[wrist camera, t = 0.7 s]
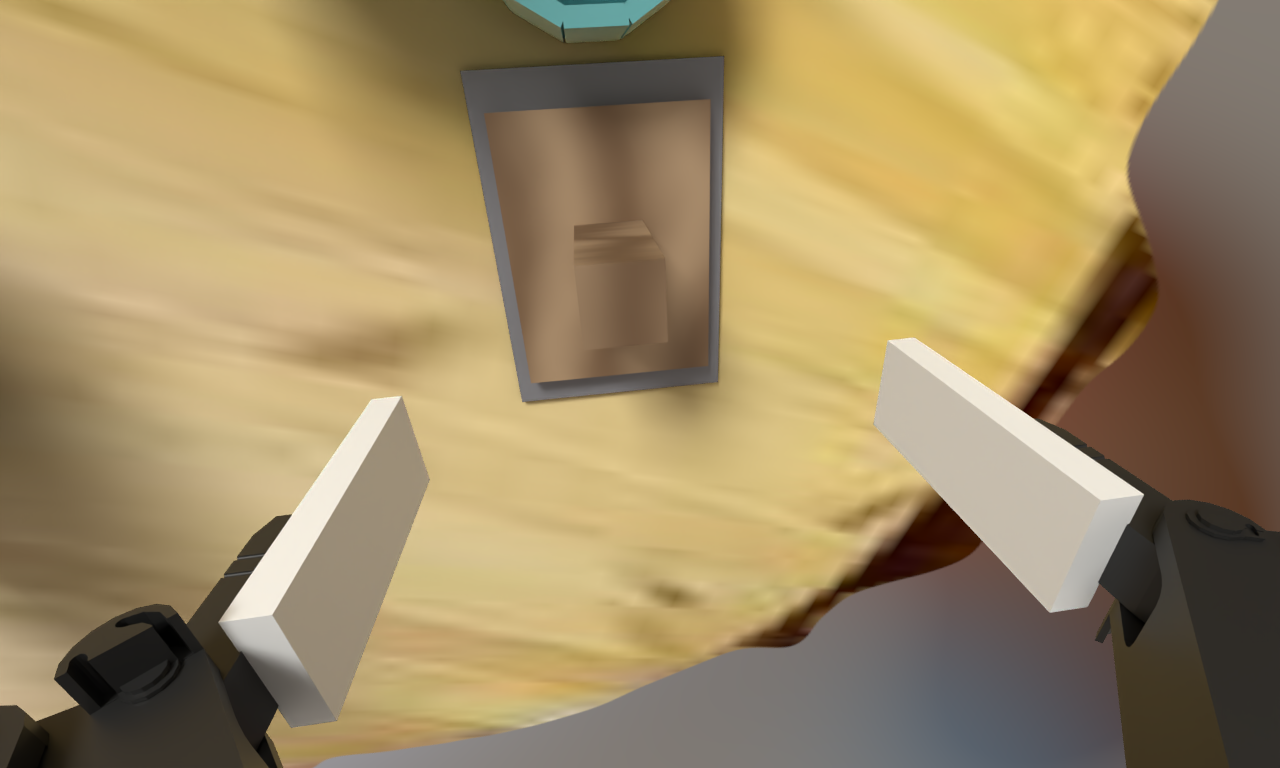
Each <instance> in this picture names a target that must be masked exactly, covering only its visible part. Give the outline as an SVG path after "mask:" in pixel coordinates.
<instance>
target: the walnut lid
mask: <svg viewBox="0 0 1280 768" xmlns="http://www.w3.org/2000/svg"><path fill="white" fill-rule="evenodd" d="M710 109H711V99H704V100H688V101H672V102H656V103H640V104H623V105H607V106H591V107H575V108H559V109H543V110H527V111H511V112H494V113H484V117H485V123H486V128H487V134H488V140H489V146H490V151H491V157H492V163H493V169H494V174H495V180H496V186H497V191H498V197H499V203H500V209H501V214H502V220H503V226H504V231H505V237H506V243H507V249H508V254H509V260H510V266H511V272H512V277H513V283H514V289H515V294H516V300H517V306H518V312H519V317H520V323H521V329H522V335H523V340H524V346H525V352H526V357H527V363H528V369H529V375H530V380H531V383H540V382H550V381H560V380H571V379H581V378H591V377H601V376H611V375H621V374H631V373H641V372H651V371H662V370H672V369H682V368H692V367H702V366H708V330H709V220H710Z"/></svg>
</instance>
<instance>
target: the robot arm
mask: <svg viewBox="0 0 1280 768" xmlns="http://www.w3.org/2000/svg"><path fill="white" fill-rule="evenodd" d="M873 425H874V426H875V427H876V428H877V429H878V430H879V431H880V432H881V433H882V434H883V435H884V436H885V437H886V438H887V439H888V441H889V442H890V443H891V444H892V445H893V446H894V447H895V448H896V449H897V450H898V451H899V452H900V453H901V454H902V455H903V457H904V458H905V459H906V460H907V461H908V462H909V463H910V464H911V465H912V466H913V467H914V468H915V469H916V470H917V471H918V473H919V474H920V475H921V476H922V477H923V478H924V479H925V480H926V481H927V482H928V483H929V484H930V485H931V486H932V487H933V489H934V490H935V491H936V492H937V493H938V494H939V495H940V496H941V497H942V498H943V499H944V500H945V501H946V502H947V503H948V505H949V506H950V507H951V508H952V509H953V510H954V511H955V512H956V513H957V514H958V515H959V516H960V517H961V518H962V519H963V521H964V522H965V523H966V524H967V525H968V526H969V527H970V528H971V529H972V530H973V531H974V532H975V533H976V534H977V535H978V537H979V538H980V539H981V540H982V541H983V542H984V543H985V544H986V545H987V546H988V547H989V548H990V549H991V550H992V551H993V552H994V554H995V555H996V556H997V557H998V558H999V559H1000V560H1001V561H1002V562H1003V563H1004V564H1005V565H1006V566H1007V567H1008V569H1009V570H1010V571H1011V572H1012V573H1013V574H1014V575H1015V576H1016V577H1017V578H1018V579H1019V580H1020V581H1021V582H1022V583H1023V584H1024V586H1025V587H1026V588H1027V589H1028V590H1029V591H1030V592H1031V593H1032V594H1033V595H1034V596H1035V597H1036V598H1037V599H1038V601H1039V602H1040V603H1041V604H1042V605H1043V606H1044V607H1045V608H1046V609H1047V610H1048V611H1049V612H1057V611H1063V610H1070V609H1076V608H1083V607H1088V605H1089V603H1090V601H1091V599H1092V597H1093V595H1094V593H1095V591H1096V589H1097V587H1098V585H1099V584H1101V585H1102V586H1103V587H1104V588H1105V589H1106V590H1107V591H1108V592H1109V593H1111V594H1112V595H1113V596H1114V597H1115V600H1114V602H1113V604H1112V606H1111V607H1110V609H1109V611H1108V613H1107V615H1106V617H1105V619H1104V620H1103V622H1102V624H1101V626H1100V628H1099V630H1098V632H1097V635H1096V639H1095V641H1098V642H1101V643H1103V641H1104V639H1105V638H1106V636H1107V634H1110V633H1112V642H1113V650H1114V659H1115V669H1116V678H1117V686H1118V696H1119V705H1120V714H1121V723H1122V732H1123V741H1124V750H1125V759H1126V767H1127V768H1280V532H1274V531H1266V530H1265V529H1263V528H1262V527H1260V526H1259V525H1257V524H1256V523H1254V522H1253V521H1252V520H1250V519H1248V518H1246V517H1244V516H1242V515H1240V514H1238V513H1236V512H1233V511H1232V510H1229V509H1226V508H1223V507H1220V506H1217V505H1214V504H1210V503H1206V502H1200V501H1194V500H1175V501H1172V500H1170V499H1169V498H1167V497H1166V496H1164V495H1163V494H1161V493H1160V492H1158V491H1157V490H1155V489H1154V488H1152V487H1151V486H1149V485H1148V484H1146V483H1145V482H1143V481H1142V480H1140V479H1139V478H1137V477H1136V476H1134V475H1133V474H1131V473H1130V472H1128V471H1127V470H1125V469H1123V468H1122V467H1120V466H1119V465H1117V464H1116V463H1114V462H1113V461H1111V460H1110V459H1105V458H1104V455H1102V454H1101V453H1099V452H1098V451H1096V450H1095V449H1093V448H1092V447H1087V444H1086V443H1084V442H1083V441H1081V440H1080V439H1078V438H1077V437H1075V436H1073V435H1072V434H1071V433H1069V432H1068V431H1066V430H1064V429H1062V428H1059V427H1057V426H1055V425H1052V424H1050V423H1047V422H1045V421H1043V420H1040V419H1033V418H1031V417H1030V416H1028V415H1027V414H1026V413H1024V412H1023V411H1021V410H1020V409H1018V408H1017V407H1015V406H1014V405H1012V404H1011V403H1009V402H1008V401H1007V400H1005V399H1004V398H1002V397H1001V396H999V395H998V394H996V393H995V392H993V391H992V390H990V389H989V388H988V387H986V386H985V385H983V384H982V383H980V382H979V381H977V380H976V379H974V378H973V377H971V376H970V375H968V374H967V373H966V372H964V371H963V370H961V369H960V368H958V367H957V366H955V365H954V364H952V363H951V362H949V361H948V360H947V359H945V358H944V357H942V356H941V355H939V354H938V353H936V352H935V351H933V350H932V349H930V348H929V347H928V346H926V345H925V344H923V343H922V342H920V341H919V340H917V339H916V338H906V339H897V340H888V342H887V348H886V354H885V360H884V366H883V371H882V377H881V383H880V389H879V395H878V401H877V407H876V413H875V418H874V424H873ZM429 480H430V479H429V476H428V473H427V470H426V467H425V464H424V461H423V458H422V455H421V452H420V449H419V446H418V443H417V440H416V437H415V434H414V431H413V428H412V425H411V422H410V419H409V416H408V413H407V410H406V407H405V404H404V401H403V398H402V396H397V397H388V398H379V399H371V401H370V402H369V404H368V405H367V407H366V408H365V410H364V411H363V412H362V414H361V415H360V417H359V418H358V420H357V421H356V423H355V424H354V426H353V427H352V428H351V430H350V431H349V433H348V434H347V436H346V437H345V439H344V440H343V442H342V443H341V445H340V446H339V447H338V449H337V450H336V452H335V453H334V455H333V456H332V458H331V459H330V461H329V462H328V463H327V465H326V466H325V468H324V469H323V471H322V472H321V474H320V475H319V477H318V478H317V479H316V481H315V482H314V484H313V485H312V487H311V488H310V490H309V491H308V493H307V494H306V495H305V497H304V498H303V500H302V501H301V503H300V504H299V506H298V507H297V509H296V510H295V511H294V513H293V514H291V515H284V516H276V517H275V518H274V519H273V520H271V521H270V522H269V523H268V524H267V525H265V526H264V527H263V528H262V529H260V530H259V531H258V532H257V533H255V534H254V535H253V536H252V537H251V539H250V540H249V541H248V543H247V544H246V545H245V547H244V548H243V549H242V551H241V552H240V553H239V555H238V556H237V558H238V559H237V560H236V561H234V562H233V563H232V564H231V566H230V567H229V568H228V570H227V571H226V572H225V574H224V575H225V577H224V578H221V579H220V580H219V582H218V583H217V584H216V586H215V587H214V588H213V590H212V591H211V592H210V594H209V595H208V596H207V598H206V599H205V600H204V602H203V603H202V604H201V606H200V607H199V608H198V610H197V611H196V613H195V614H194V615H193V617H192V618H191V619H190V621H189V622H188V623H187V625H186V624H185V622H184V621H183V620H182V618H181V617H180V616H179V614H178V613H177V612H176V611H175V610H174V609H173V608H172V607H171V606H169V605H160V604H154V605H149V606H145V607H140V608H136V609H134V610H131V611H129V612H126V613H124V614H122V615H119V616H117V617H115V618H113V619H111V620H110V621H108V622H106V623H105V624H103V625H101V626H100V627H98V628H96V629H95V630H93V631H92V632H90V633H89V634H88V635H87V636H86V637H84V638H83V639H82V640H81V641H80V642H78V643H77V644H76V645H75V646H74V647H72V649H71V650H70V651H69V652H68V654H67V655H66V656H65V657H64V658H63V660H62V661H61V662H60V663H59V665H58V668H57V671H56V674H55V677H54V680H55V681H56V682H57V683H58V684H59V685H60V686H61V687H62V688H63V689H64V690H65V691H66V692H67V693H68V694H69V695H70V696H71V697H72V698H73V699H74V700H75V701H76V702H77V703H78V704H79V705H78V706H76V707H73V708H70V709H68V710H65V711H62V712H60V713H57V714H55V715H52V716H49V717H47V718H44V719H42V720H39V721H34V720H33V719H32V718H31V717H30V716H29V715H28V714H27V713H26V712H25V711H23V710H22V709H21V708H19V707H18V706H17V705H13V706H0V768H283V766H282V763H281V761H280V758H279V756H278V753H277V751H276V748H275V746H274V743H273V741H272V740H271V739H270V737H269V736H268V735H267V733H266V731H267V729H268V727H269V725H270V723H271V721H272V719H273V717H274V715H275V713H276V710H277V708H278V709H279V711H280V712H281V714H282V715H283V717H284V718H285V720H286V721H287V722H288V724H289V725H290V727H291V728H293V727H300V726H306V725H313V724H319V723H326V722H332V721H337V719H338V717H339V714H340V711H341V709H342V706H343V704H344V701H345V698H346V696H347V693H348V691H349V688H350V686H351V683H352V680H353V678H354V675H355V673H356V670H357V667H358V665H359V662H360V660H361V657H362V654H363V652H364V649H365V647H366V644H367V641H368V639H369V636H370V634H371V631H372V628H373V626H374V623H375V621H376V618H377V615H378V613H379V610H380V608H381V605H382V602H383V600H384V597H385V595H386V592H387V589H388V587H389V584H390V582H391V579H392V576H393V574H394V571H395V569H396V566H397V563H398V561H399V558H400V556H401V553H402V550H403V548H404V545H405V543H406V540H407V537H408V535H409V532H410V530H411V527H412V524H413V522H414V519H415V517H416V514H417V511H418V509H419V506H420V504H421V501H422V498H423V496H424V493H425V491H426V488H427V485H428V483H429Z"/></svg>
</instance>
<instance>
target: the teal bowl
mask: <svg viewBox="0 0 1280 768" xmlns="http://www.w3.org/2000/svg"><path fill="white" fill-rule="evenodd" d="M503 1H504V2H505V4H506V5H507V7H508V8H509V10H511V11H512V13H514V14H516V15H517V16H519V17H521V18H523V19H524V20H526V21H528V22H529V23H531V24H533V25H534V26H536V27H538V28H539V29H541V30H543V31H545V32H546V33H548V34H550V35H551V36H553V37H555V38H556V39H558V40H560V41H562V42H564V39H565V40H566V43H579V42H598V41H616V40H620V38H621V39H623V38H624V37H625V36H626V35H628V34H629V33H630V32H632V31H633V30H634V29H636V28H637V27H638V26H639V25H641V24H642V23H643V22H645V21H646V20H647V19H648V18H650V17H651V16H652V15H654V14H655V13H656V12H657V11H659V10H660V9H661V8H663V7H664V6H665V5H666V4H667V3H668V2H669V1H670V0H503Z"/></svg>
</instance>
